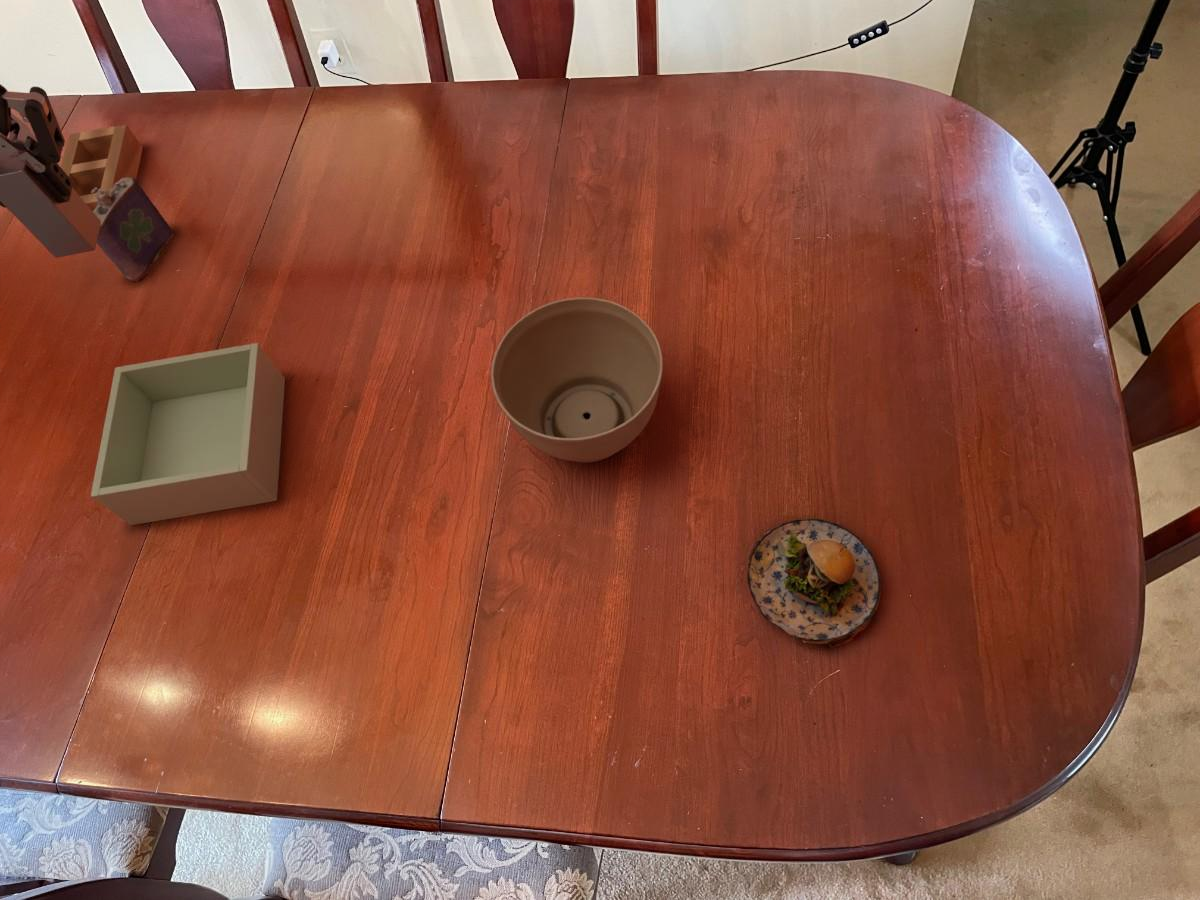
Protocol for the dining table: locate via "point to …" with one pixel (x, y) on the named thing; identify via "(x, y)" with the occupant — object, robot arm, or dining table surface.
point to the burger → (815, 581)
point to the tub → (191, 435)
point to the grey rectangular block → (47, 211)
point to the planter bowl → (578, 377)
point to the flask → (130, 228)
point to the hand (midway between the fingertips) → (42, 200)
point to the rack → (100, 160)
